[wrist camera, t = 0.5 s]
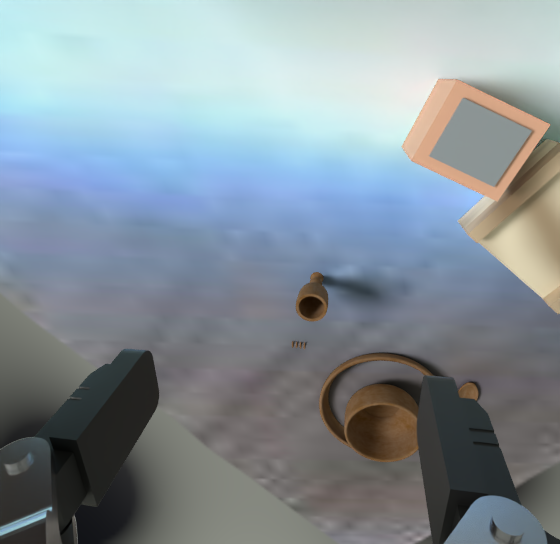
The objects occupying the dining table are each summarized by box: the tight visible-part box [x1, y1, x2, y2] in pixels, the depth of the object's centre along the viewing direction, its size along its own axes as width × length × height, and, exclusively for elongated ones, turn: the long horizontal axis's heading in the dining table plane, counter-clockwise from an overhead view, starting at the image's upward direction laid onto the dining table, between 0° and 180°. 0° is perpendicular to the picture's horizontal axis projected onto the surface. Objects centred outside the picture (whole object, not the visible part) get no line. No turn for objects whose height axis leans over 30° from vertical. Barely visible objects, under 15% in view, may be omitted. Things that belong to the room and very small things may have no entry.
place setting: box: [292, 272, 478, 462], centre depth 38 cm, size 18×20×6 cm
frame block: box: [402, 79, 551, 202], centre depth 28 cm, size 5×6×6 cm
